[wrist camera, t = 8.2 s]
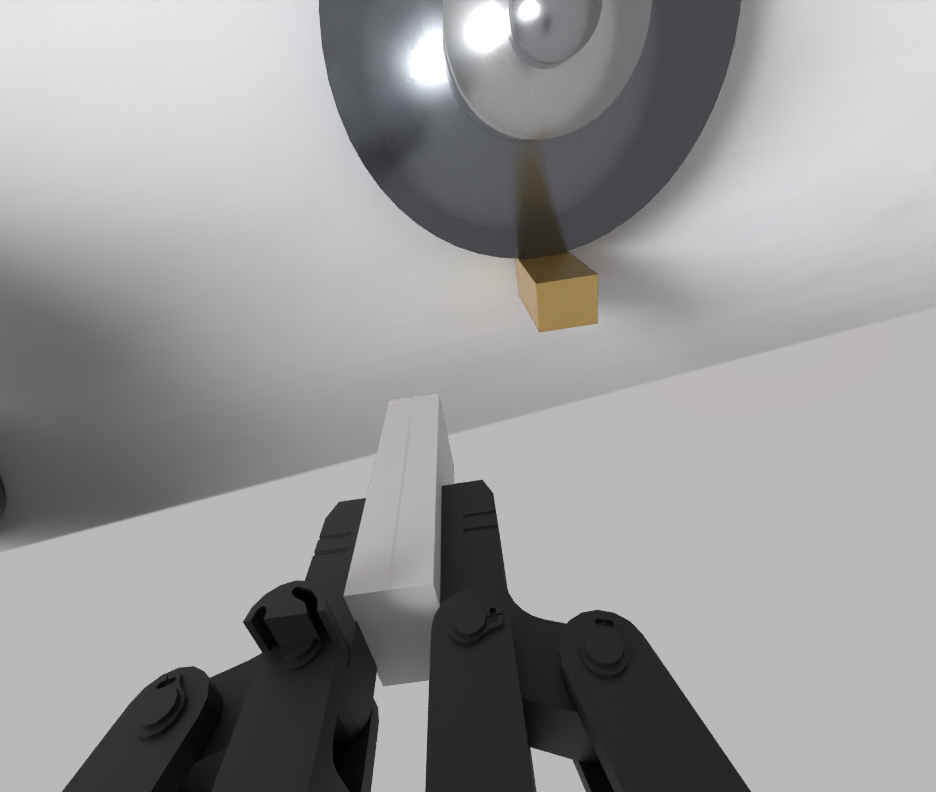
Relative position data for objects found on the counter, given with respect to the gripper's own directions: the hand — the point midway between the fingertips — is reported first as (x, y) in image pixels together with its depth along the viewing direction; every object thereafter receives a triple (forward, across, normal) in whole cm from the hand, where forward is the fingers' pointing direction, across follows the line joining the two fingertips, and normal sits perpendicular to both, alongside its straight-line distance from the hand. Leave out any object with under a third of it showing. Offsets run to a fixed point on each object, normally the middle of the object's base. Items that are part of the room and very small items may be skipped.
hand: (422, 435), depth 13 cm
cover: (+15, +7, +11) cm, 20 cm away
